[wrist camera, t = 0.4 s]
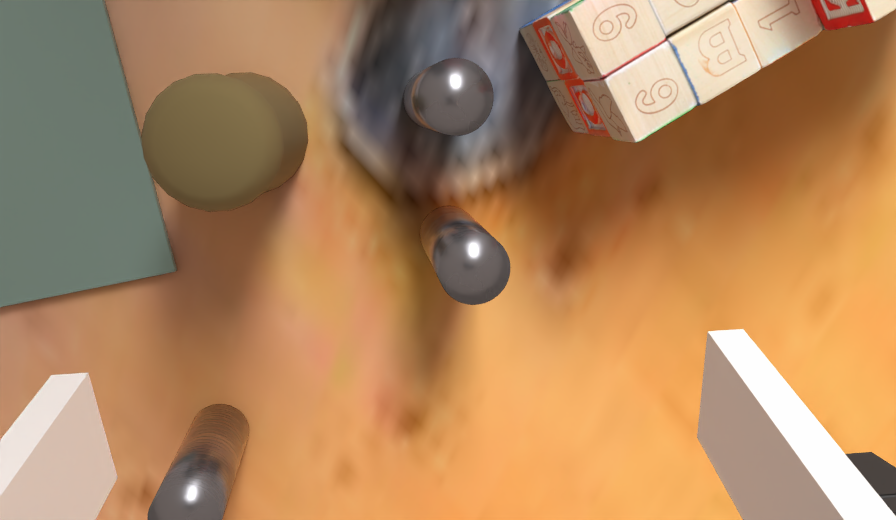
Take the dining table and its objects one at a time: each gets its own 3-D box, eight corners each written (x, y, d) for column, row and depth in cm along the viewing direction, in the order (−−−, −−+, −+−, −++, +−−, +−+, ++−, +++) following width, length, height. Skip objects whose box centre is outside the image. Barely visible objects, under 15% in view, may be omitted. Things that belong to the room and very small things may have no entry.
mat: (-180, -14, 35) (-186, -16, 34) (88, -59, 36) (85, -61, 35) (-65, 319, 38) (-70, 321, 38) (177, 269, 39) (175, 271, 39)
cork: (227, 216, 39) (180, 258, 28) (159, 110, 38) (82, 113, 27) (330, 157, 39) (322, 176, 28) (266, 49, 38) (232, 27, 27)
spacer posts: (64, -20, 36) (-28, -60, 27) (430, -83, 37) (454, -140, 29) (199, 462, 41) (158, 558, 33) (514, 391, 43) (555, 465, 34)
